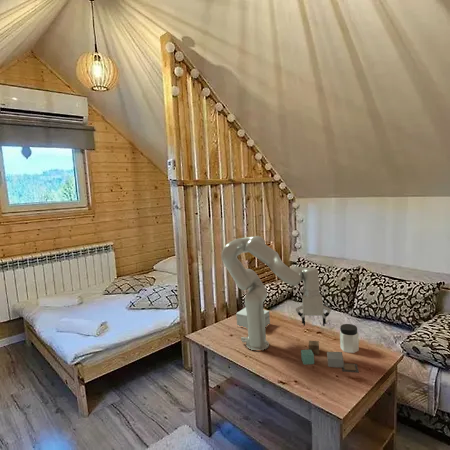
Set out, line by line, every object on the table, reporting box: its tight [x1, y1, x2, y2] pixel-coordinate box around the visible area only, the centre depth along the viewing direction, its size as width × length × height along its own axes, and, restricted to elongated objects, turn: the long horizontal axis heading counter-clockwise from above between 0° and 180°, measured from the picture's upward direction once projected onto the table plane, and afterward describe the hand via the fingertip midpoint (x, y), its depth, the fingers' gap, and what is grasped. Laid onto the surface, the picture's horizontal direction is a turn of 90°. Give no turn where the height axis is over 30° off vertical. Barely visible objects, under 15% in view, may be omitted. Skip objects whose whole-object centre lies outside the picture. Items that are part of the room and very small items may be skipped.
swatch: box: [341, 362, 360, 373], centre depth 152 cm, size 7×7×1 cm
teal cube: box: [300, 349, 315, 365], centre depth 160 cm, size 5×5×5 cm
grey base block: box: [326, 351, 345, 368], centre depth 157 cm, size 7×7×4 cm
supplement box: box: [235, 306, 271, 328], centre depth 206 cm, size 17×13×9 cm
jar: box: [339, 323, 360, 354], centre depth 169 cm, size 9×8×12 cm
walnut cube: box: [308, 340, 320, 356], centre depth 169 cm, size 5×5×5 cm
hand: (314, 324), depth 167 cm, fingers open, 9 cm apart
